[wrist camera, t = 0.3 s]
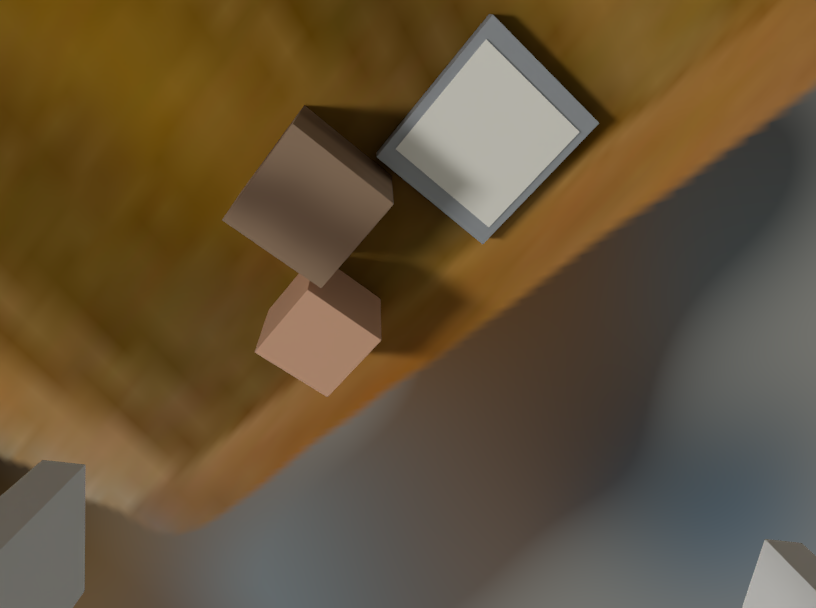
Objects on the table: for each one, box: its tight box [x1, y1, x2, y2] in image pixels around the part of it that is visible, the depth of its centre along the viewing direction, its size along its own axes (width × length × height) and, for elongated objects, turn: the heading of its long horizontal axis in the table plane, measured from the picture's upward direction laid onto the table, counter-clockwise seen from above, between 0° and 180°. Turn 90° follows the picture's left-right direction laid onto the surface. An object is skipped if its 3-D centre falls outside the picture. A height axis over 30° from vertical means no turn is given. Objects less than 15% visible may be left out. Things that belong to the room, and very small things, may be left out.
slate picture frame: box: [376, 14, 599, 244], centre depth 31 cm, size 9×8×1 cm
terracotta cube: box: [255, 269, 381, 397], centre depth 34 cm, size 5×5×5 cm
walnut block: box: [222, 105, 394, 288], centre depth 30 cm, size 6×6×5 cm
